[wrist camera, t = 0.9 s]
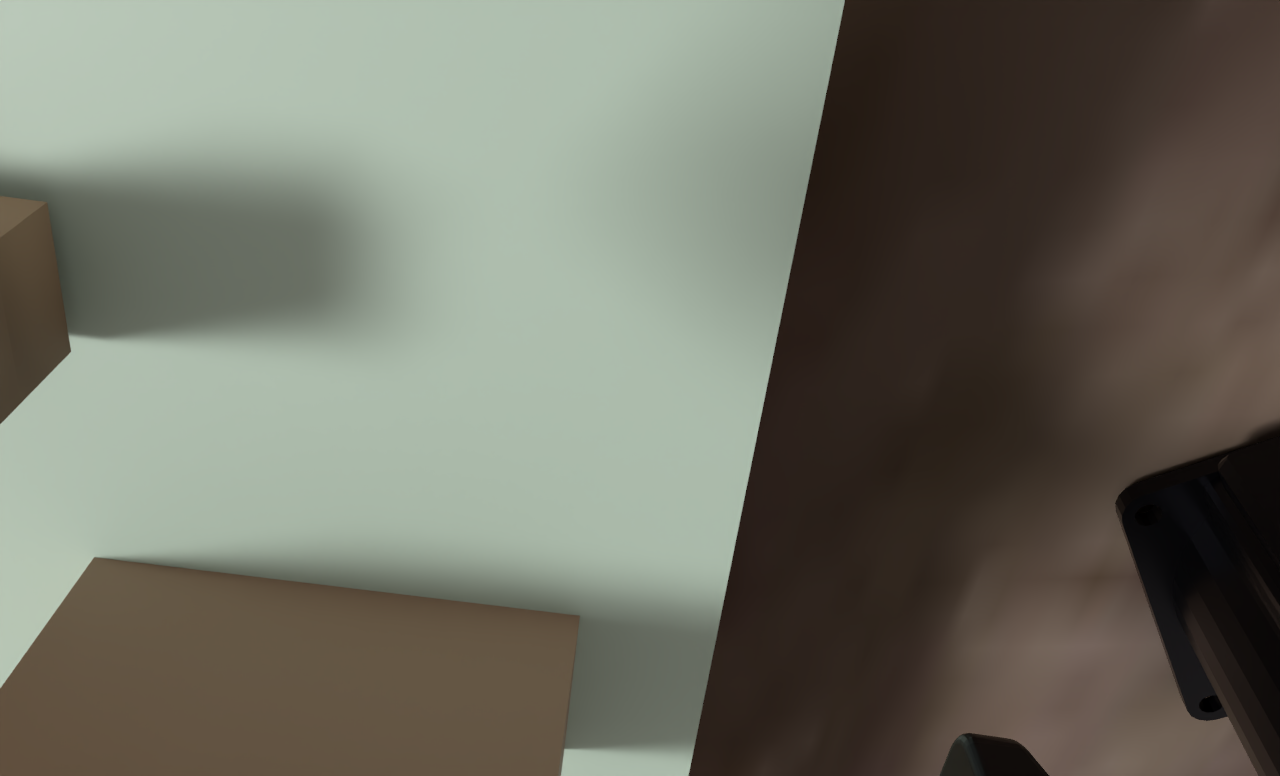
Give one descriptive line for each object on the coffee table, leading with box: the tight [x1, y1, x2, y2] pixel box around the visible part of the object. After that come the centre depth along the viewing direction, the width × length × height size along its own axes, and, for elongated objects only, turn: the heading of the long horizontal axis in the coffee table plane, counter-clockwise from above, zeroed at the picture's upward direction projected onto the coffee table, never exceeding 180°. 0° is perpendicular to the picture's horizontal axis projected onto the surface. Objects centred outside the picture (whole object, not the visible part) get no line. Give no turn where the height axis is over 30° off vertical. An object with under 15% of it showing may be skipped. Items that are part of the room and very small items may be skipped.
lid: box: [0, 0, 845, 776], centre depth 16 cm, size 22×11×5 cm, turn 174°
